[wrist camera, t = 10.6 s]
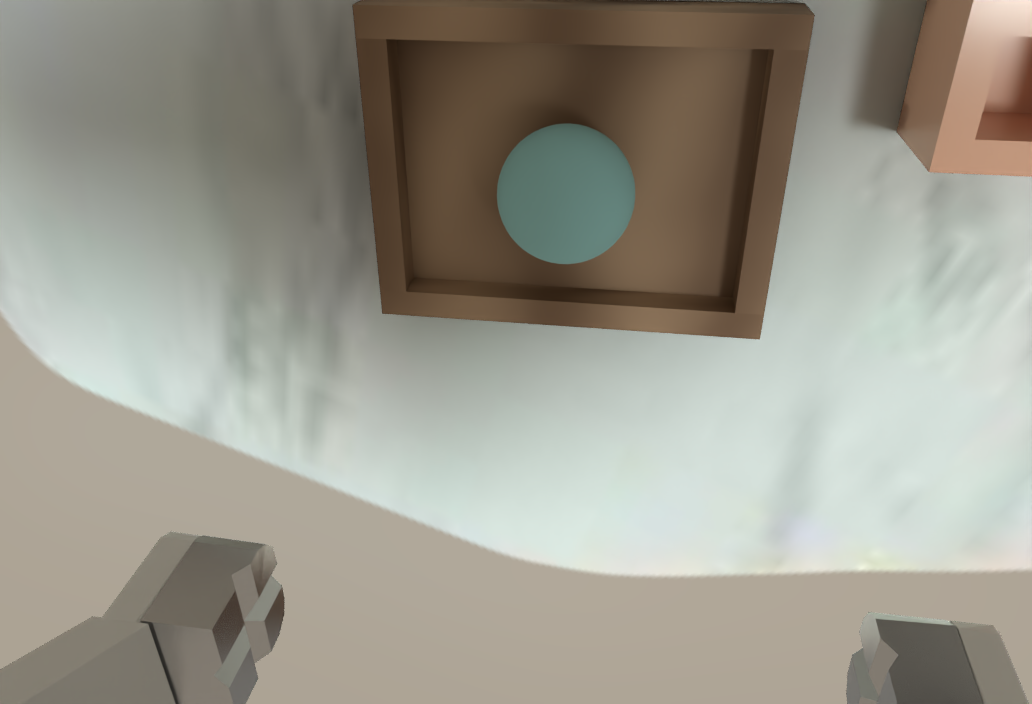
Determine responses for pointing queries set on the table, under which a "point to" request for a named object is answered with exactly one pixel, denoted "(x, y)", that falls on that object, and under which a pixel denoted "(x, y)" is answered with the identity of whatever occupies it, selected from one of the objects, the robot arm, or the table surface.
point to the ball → (566, 193)
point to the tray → (601, 106)
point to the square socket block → (971, 88)
